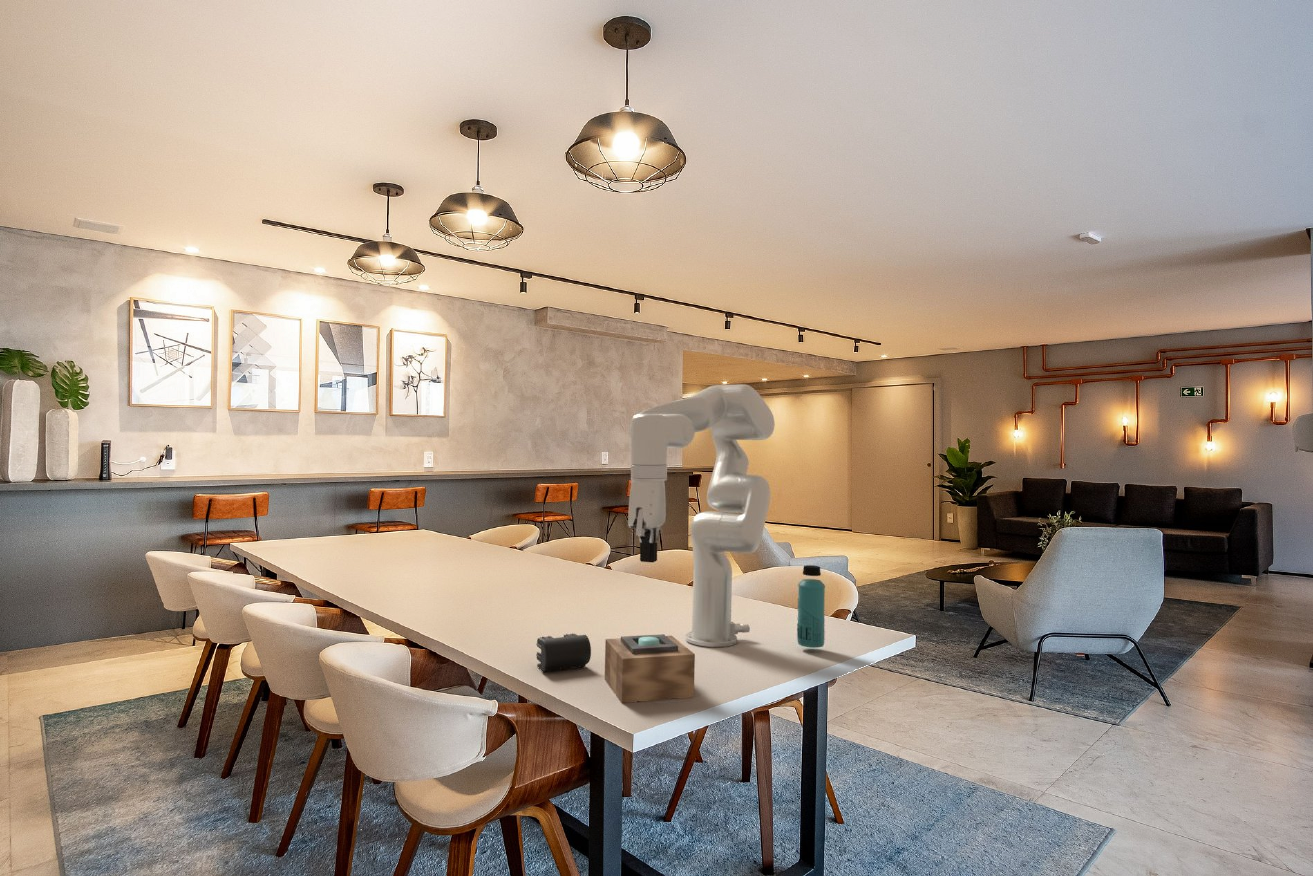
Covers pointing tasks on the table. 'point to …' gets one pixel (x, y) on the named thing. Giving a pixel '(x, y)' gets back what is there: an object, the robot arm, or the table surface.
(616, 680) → the socket block
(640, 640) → the peg
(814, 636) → the beverage bottle
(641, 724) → the table surface
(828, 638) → the table surface
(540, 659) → the end cap
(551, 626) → the table surface
